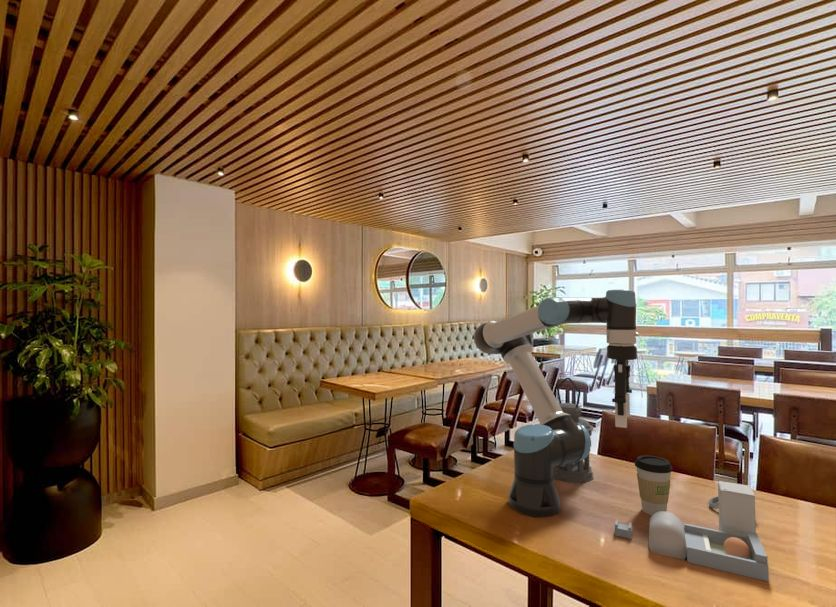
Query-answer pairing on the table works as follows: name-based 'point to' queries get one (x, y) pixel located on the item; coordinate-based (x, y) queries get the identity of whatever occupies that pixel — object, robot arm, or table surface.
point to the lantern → (581, 469)
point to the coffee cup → (653, 482)
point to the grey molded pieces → (701, 545)
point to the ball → (736, 548)
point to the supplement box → (736, 508)
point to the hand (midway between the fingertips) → (623, 421)
